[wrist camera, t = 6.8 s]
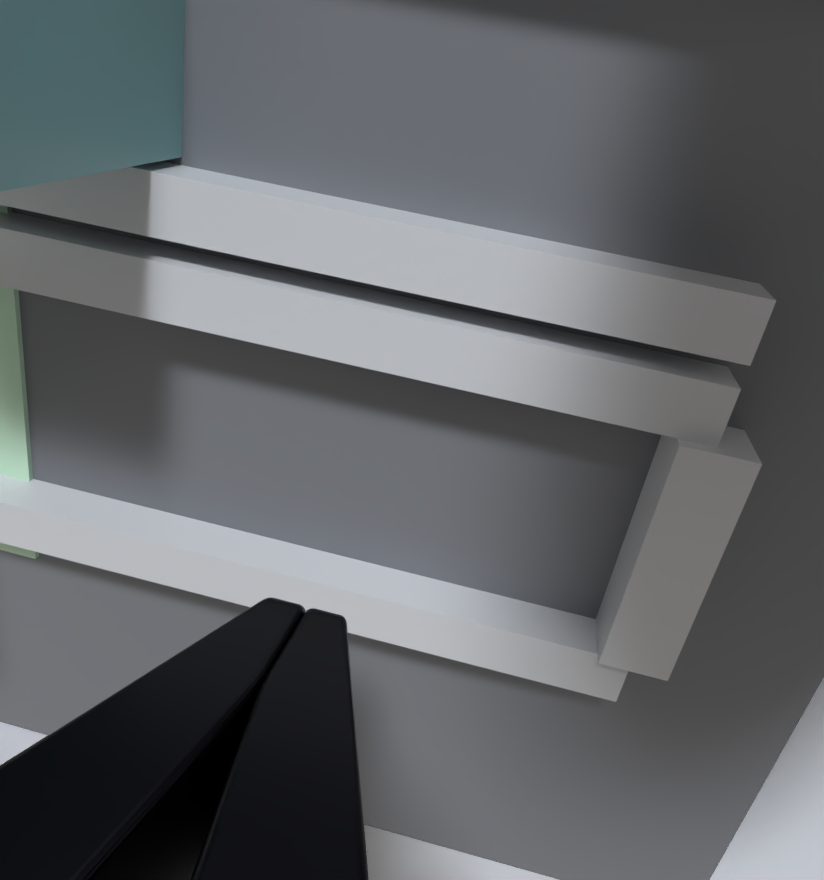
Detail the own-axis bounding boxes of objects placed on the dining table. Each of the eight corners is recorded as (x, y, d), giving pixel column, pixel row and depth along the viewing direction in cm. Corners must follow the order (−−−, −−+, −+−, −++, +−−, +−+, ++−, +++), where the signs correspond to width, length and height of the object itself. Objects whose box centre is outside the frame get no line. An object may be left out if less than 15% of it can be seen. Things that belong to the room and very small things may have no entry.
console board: (1167, -76, 8) (2007, -298, 3) (680, 857, 15) (730, 1195, 11) (-455, -328, 10) (-1374, -699, 5) (-200, 615, 17) (-484, 814, 12)
